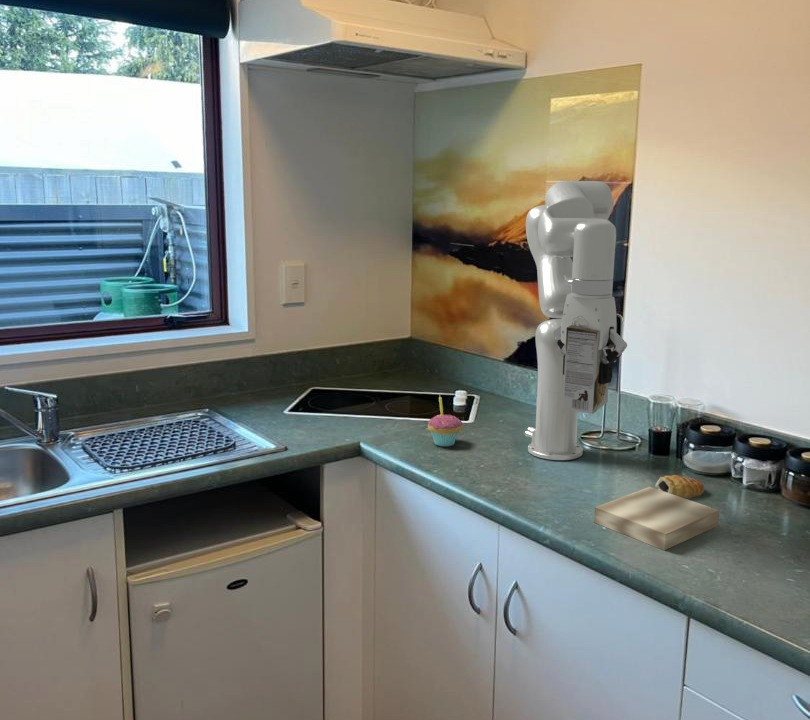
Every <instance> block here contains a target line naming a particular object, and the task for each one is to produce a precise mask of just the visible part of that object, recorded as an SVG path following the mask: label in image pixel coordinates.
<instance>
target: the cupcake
mask: <svg viewBox="0 0 810 720" xmlns="http://www.w3.org/2000/svg"><path fill="white" fill-rule="evenodd" d="M438 395H439V397H438V402H439V411H440V414H437V415H434V416H433V417H431V418H430V419H429V420H428V421H427V430H428V431H429V432H430V434H431V436H432V439H433V442H434V444H435V445H436V446H439V447H451V446H454V445H455V442H456V439H457V436H458V434H459V433H460V432H461V431H463V429H464V423H463V421H462V420H460V419H459V417H456V416H455V415H452V414H444V406H443V398H442V397H441V394H440V393H439V394H438Z"/></svg>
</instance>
